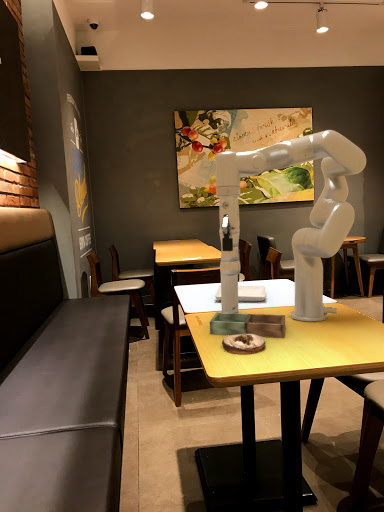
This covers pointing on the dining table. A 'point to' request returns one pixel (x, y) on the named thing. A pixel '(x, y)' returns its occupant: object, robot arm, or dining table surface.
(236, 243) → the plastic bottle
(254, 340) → the sushi roll
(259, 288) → the salad plate
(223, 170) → the robot arm
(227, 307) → the travel mug
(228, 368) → the dining table surface
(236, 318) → the dock
